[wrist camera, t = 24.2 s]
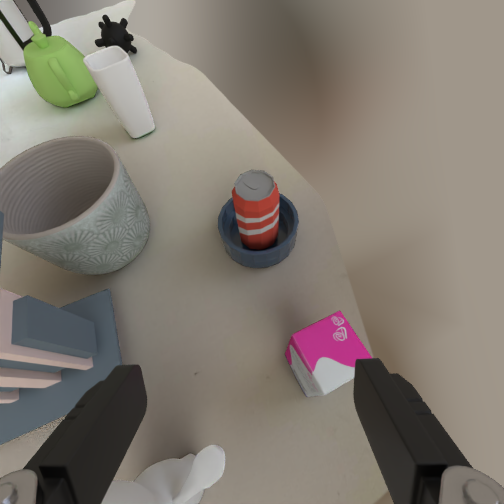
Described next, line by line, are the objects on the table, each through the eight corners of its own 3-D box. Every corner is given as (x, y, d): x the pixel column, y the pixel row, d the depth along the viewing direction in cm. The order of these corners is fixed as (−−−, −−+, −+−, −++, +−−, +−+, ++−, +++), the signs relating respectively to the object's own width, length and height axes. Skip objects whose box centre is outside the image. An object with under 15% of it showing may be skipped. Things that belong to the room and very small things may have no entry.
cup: (133, 145, 58) (92, 72, 45) (121, 129, 61) (80, 57, 48) (162, 131, 59) (131, 57, 46) (149, 116, 63) (116, 43, 50)
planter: (89, 311, 39) (-4, 268, 26) (52, 241, 46) (-37, 179, 33) (182, 245, 44) (143, 181, 31) (135, 191, 51) (87, 118, 38)
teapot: (40, 85, 73) (-4, 28, 62) (91, 66, 76) (59, 9, 65) (55, 124, 64) (7, 65, 52) (113, 101, 67) (81, 40, 55)
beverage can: (257, 214, 45) (253, 159, 35) (285, 235, 43) (289, 183, 32) (232, 235, 44) (220, 185, 33) (259, 259, 41) (255, 212, 31)
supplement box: (346, 375, 33) (379, 366, 23) (305, 397, 32) (321, 399, 22) (321, 333, 36) (340, 308, 26) (283, 353, 35) (287, 335, 25)
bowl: (301, 214, 45) (304, 195, 41) (287, 277, 40) (289, 262, 36) (235, 203, 48) (231, 183, 43) (213, 260, 42) (206, 245, 38)
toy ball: (145, 32, 78) (138, 37, 70) (132, 66, 83) (124, 75, 75) (108, 2, 73) (96, 3, 64) (96, 40, 78) (83, 46, 70)
